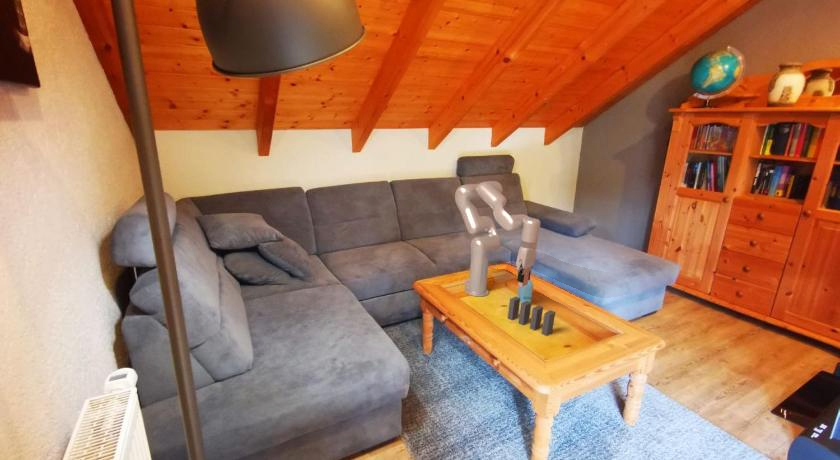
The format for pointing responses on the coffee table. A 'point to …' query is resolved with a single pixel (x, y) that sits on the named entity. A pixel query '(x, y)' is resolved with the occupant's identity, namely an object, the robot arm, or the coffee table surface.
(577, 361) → the coffee table surface
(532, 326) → the domino
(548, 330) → the domino
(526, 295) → the data package
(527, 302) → the domino
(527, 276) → the domino
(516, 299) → the domino
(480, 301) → the coffee table surface
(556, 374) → the coffee table surface
